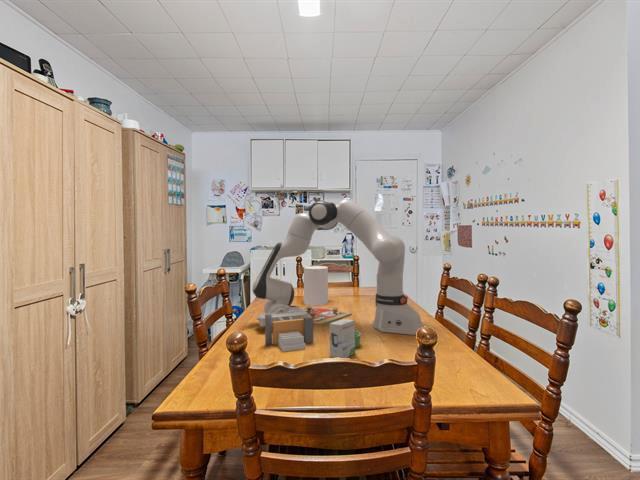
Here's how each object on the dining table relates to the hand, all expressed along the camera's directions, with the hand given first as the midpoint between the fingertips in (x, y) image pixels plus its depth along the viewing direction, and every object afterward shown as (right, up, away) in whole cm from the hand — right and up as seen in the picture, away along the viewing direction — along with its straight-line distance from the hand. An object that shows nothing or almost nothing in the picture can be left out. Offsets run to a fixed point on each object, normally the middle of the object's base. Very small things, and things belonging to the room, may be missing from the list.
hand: (288, 323), depth 147 cm
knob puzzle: (+9, -5, +34) cm, 35 cm away
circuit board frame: (+1, -6, -10) cm, 11 cm away
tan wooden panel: (+2, -5, -9) cm, 11 cm away
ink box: (+20, -7, -20) cm, 29 cm away
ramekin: (+23, -6, -9) cm, 26 cm away
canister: (+10, -3, +62) cm, 63 cm away
